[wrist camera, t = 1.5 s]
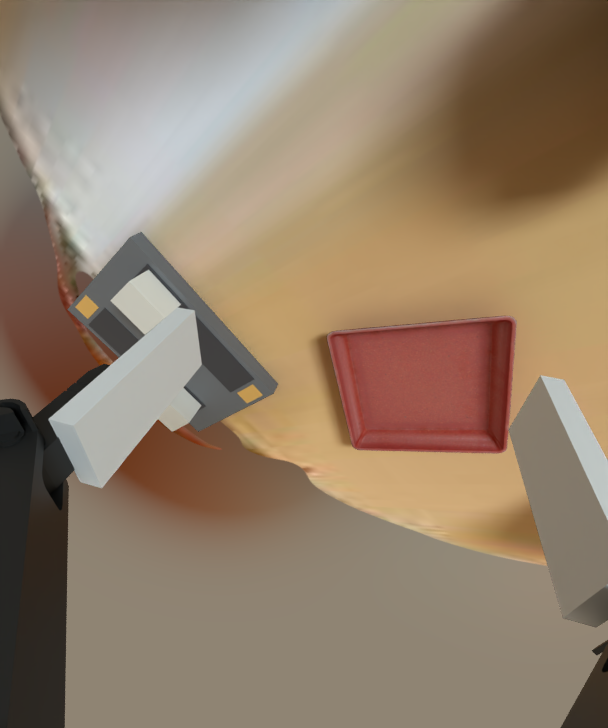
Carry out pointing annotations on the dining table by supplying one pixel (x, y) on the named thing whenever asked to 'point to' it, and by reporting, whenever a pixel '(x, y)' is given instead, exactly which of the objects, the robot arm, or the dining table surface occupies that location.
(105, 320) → the switch panel
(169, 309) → the block
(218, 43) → the dining table surface
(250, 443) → the dining table surface
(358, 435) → the plant saucer
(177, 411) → the rear tab
